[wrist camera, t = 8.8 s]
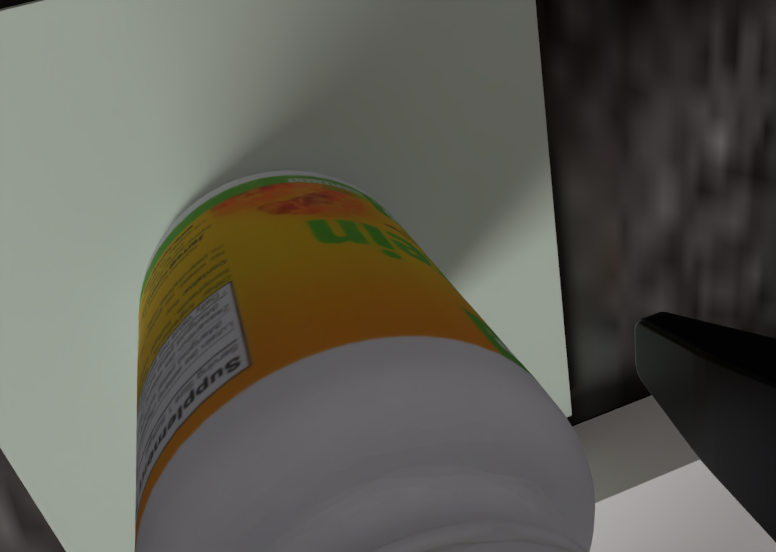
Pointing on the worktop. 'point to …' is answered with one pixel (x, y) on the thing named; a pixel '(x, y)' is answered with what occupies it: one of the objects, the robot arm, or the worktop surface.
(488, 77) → the mat
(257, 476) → the supplement bottle
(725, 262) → the worktop surface
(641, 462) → the socket block
